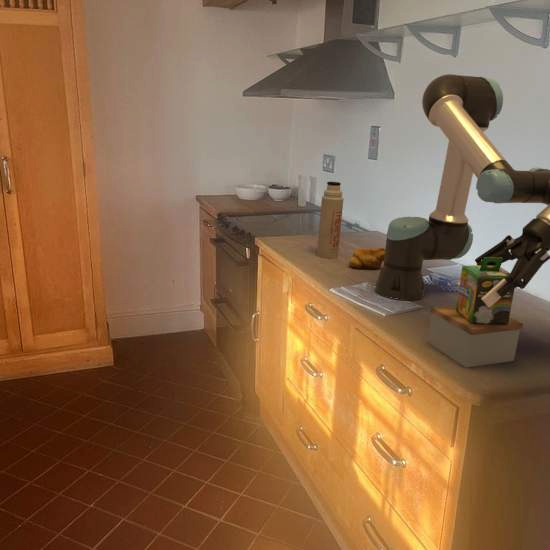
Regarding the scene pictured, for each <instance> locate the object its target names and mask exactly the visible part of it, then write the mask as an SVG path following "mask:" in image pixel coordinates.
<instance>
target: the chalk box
mask: <svg viewBox="0 0 550 550" xmlns="http://www.w3.org/2000/svg"><path fill="white" fill-rule="evenodd" d="M481 261H482V260H481ZM491 261H492V262H495V263H496V265H495V266H493V265H487V263H488V262H491ZM502 261H503V258H501V257H484V258H483V261H482V264H481V265H477V264H476V265H463V266H462V267H461V272H460V279H459V282H460V286H458V287H459V288H458V295H457V302H456V305H457V308H456V311H457V312H459V313H460V314H461V315H462V316H463V317H464V318H466V319H467V320H468V321H469V322H470V323H471V324H505V325H508V322H509V317H511V316H510V315H511V309H512V304H513V299H514V293H515V289H516V288H513V289H512V290H510V291H509V292H508V293H507V294H506V295H505V296H503V297H501V298H500V299H499V300H498V301H497V302H495V303H494V304H493V305H492V306H491V307H490V308H489V307H487V306H486V304H485V303H484V302H483V300H482V299H481V298H482V297H484V296H485V295H486V294H487V293H488V292H489V291H490V290H491V289H493V288H494V287H495V286H496V285H497V284H498V283H499V282H500V281H502V280H503V279H505V280H506V281H507V279H506V278H505V277H508V276H509V275H510V273H511V271H510V272H509V271H508V270H506V269H504V268H502V266H501V265H502V264H503V263H502Z"/></svg>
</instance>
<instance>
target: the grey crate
mask: <svg viewBox="0 0 550 550" xmlns="http://www.w3.org/2000/svg"><path fill="white" fill-rule="evenodd" d="M428 332H429V333H428V337H427V343H428V345H430V346H432V347H433V348H435V349H436V350H438V351H439V352H441V353H443V354H445V355H446V356H447V357H449V358H450V359H452V360H453V361H454V362H456V363H458V364H460V366H462V367H464V368H472V367H473V368H474V367H480V366H487V365H494V364H502V363H509V362H514V360H515V356H516V351H517V347H518V341H519V337H520V332H521V329H516V330H507V331H498V332H490V333H481V334H470V333H469V332H467V331H465V330H463V329H461V328H459V327H458V326H456V325H454V324H452V323H450V322H448V321H447V320H445V319H443V318H441V317H439V316H437V315H436V314H434V313H432V312H431V318H430V324H429V331H428Z"/></svg>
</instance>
